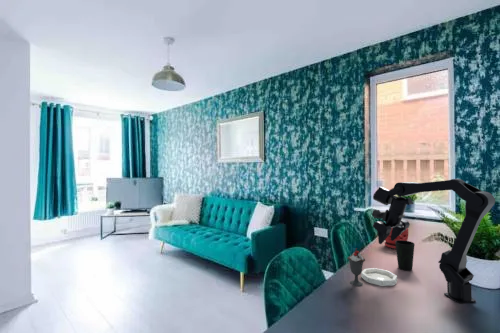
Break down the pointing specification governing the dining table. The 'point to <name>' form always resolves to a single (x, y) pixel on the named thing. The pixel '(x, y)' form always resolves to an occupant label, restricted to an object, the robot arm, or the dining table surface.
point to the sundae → (356, 266)
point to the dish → (379, 277)
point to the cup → (405, 254)
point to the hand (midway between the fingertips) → (385, 242)
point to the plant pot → (401, 237)
